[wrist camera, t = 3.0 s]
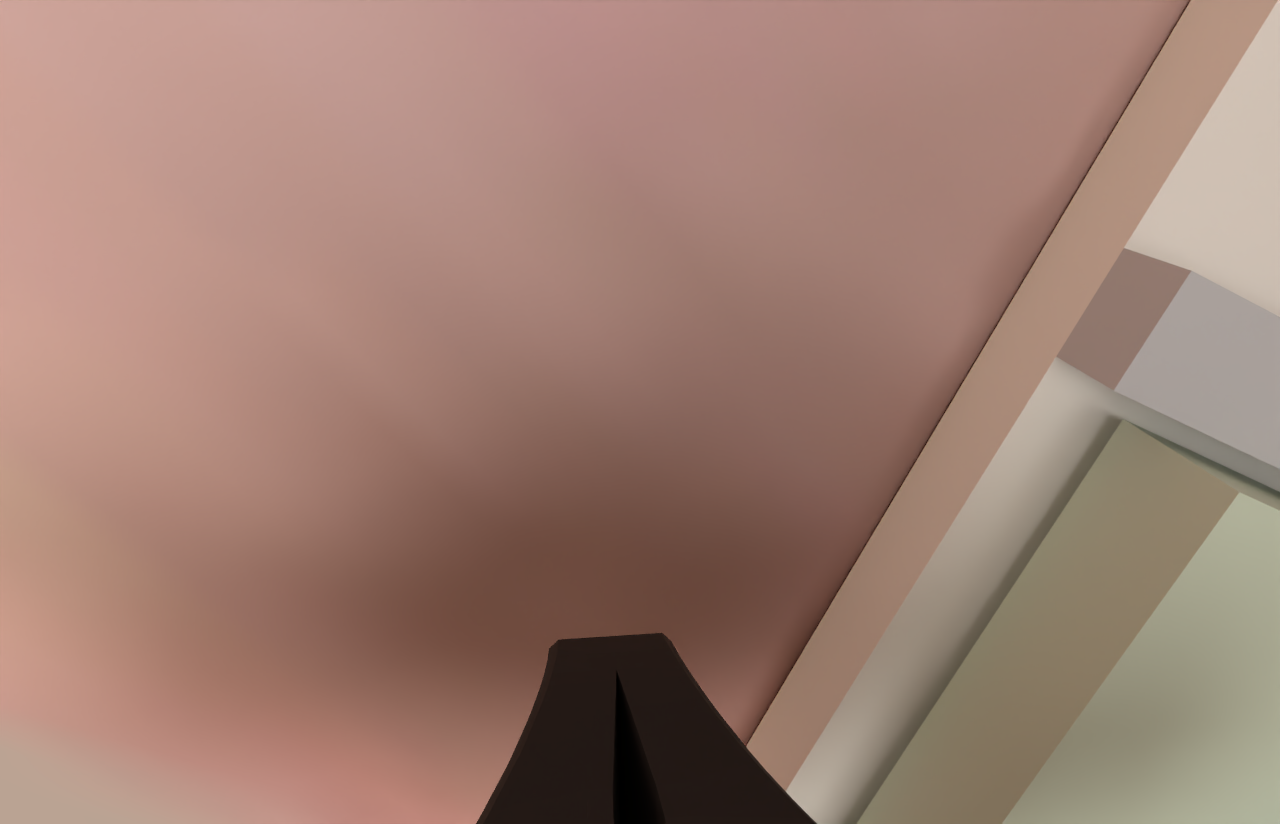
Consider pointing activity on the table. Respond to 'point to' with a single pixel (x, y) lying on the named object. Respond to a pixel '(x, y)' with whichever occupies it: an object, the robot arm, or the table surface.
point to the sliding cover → (1119, 663)
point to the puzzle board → (1066, 399)
